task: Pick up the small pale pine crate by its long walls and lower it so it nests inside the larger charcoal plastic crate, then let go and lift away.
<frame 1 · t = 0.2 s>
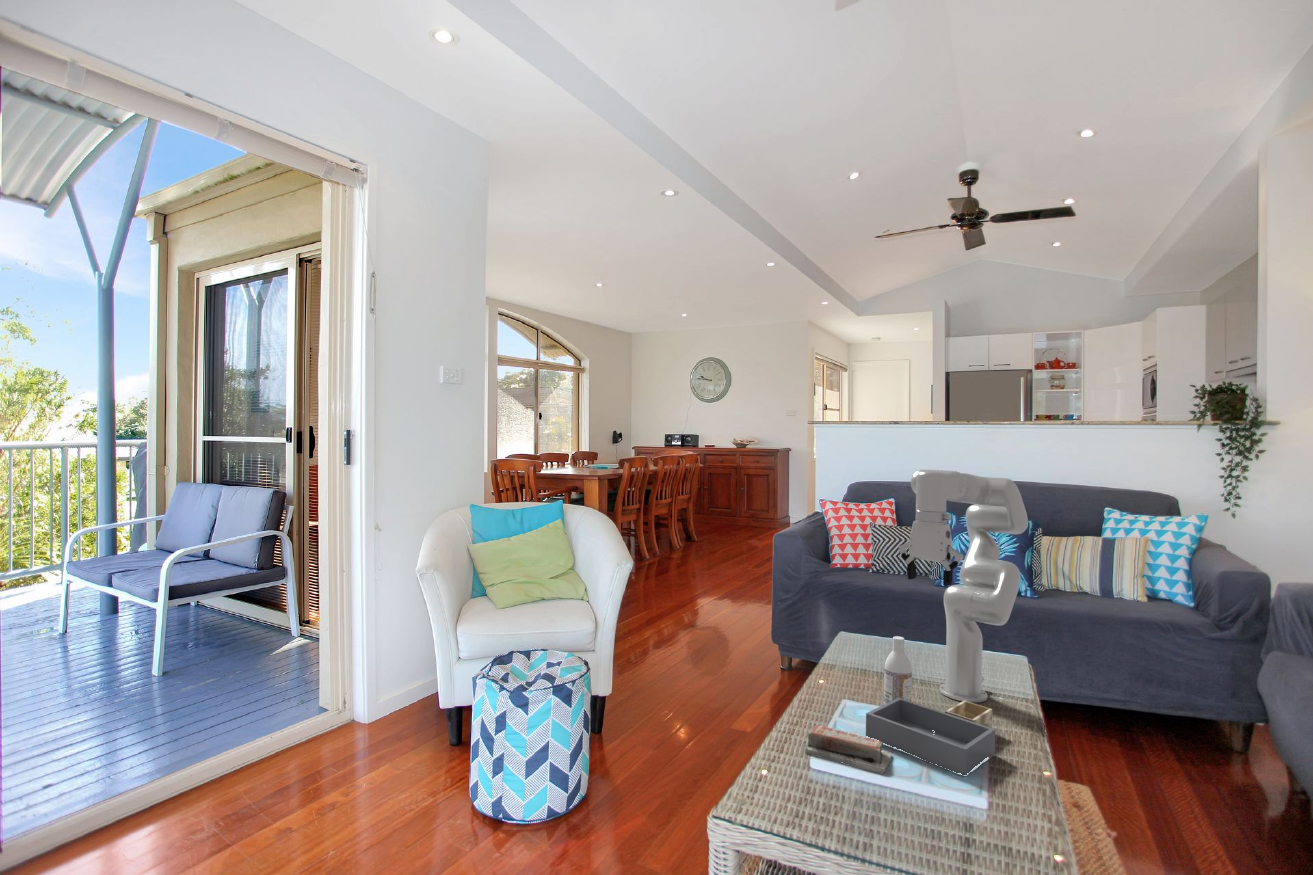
hand: (929, 581, 172), 36 cm above the table, tool pointing down, fingers open, 9 cm apart
charcoal crate: (928, 746, 155), on the table
packaged product: (848, 757, 150), on the table
bath foam: (897, 712, 175), on the table
pine crate: (968, 733, 162), on the table
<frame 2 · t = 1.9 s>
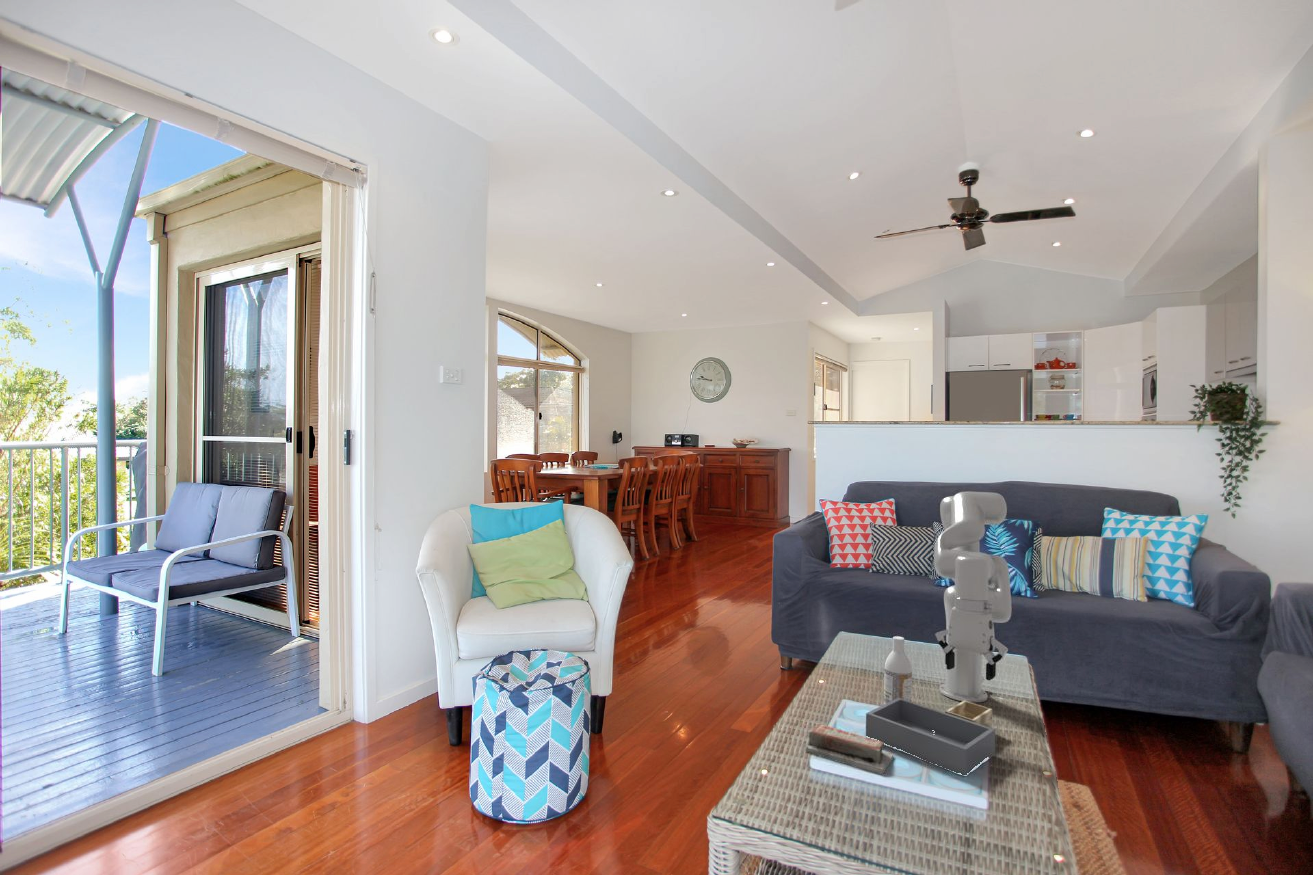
hand: (969, 673, 162), 15 cm above the table, tool pointing down, fingers open, 9 cm apart
nothing on the table moved.
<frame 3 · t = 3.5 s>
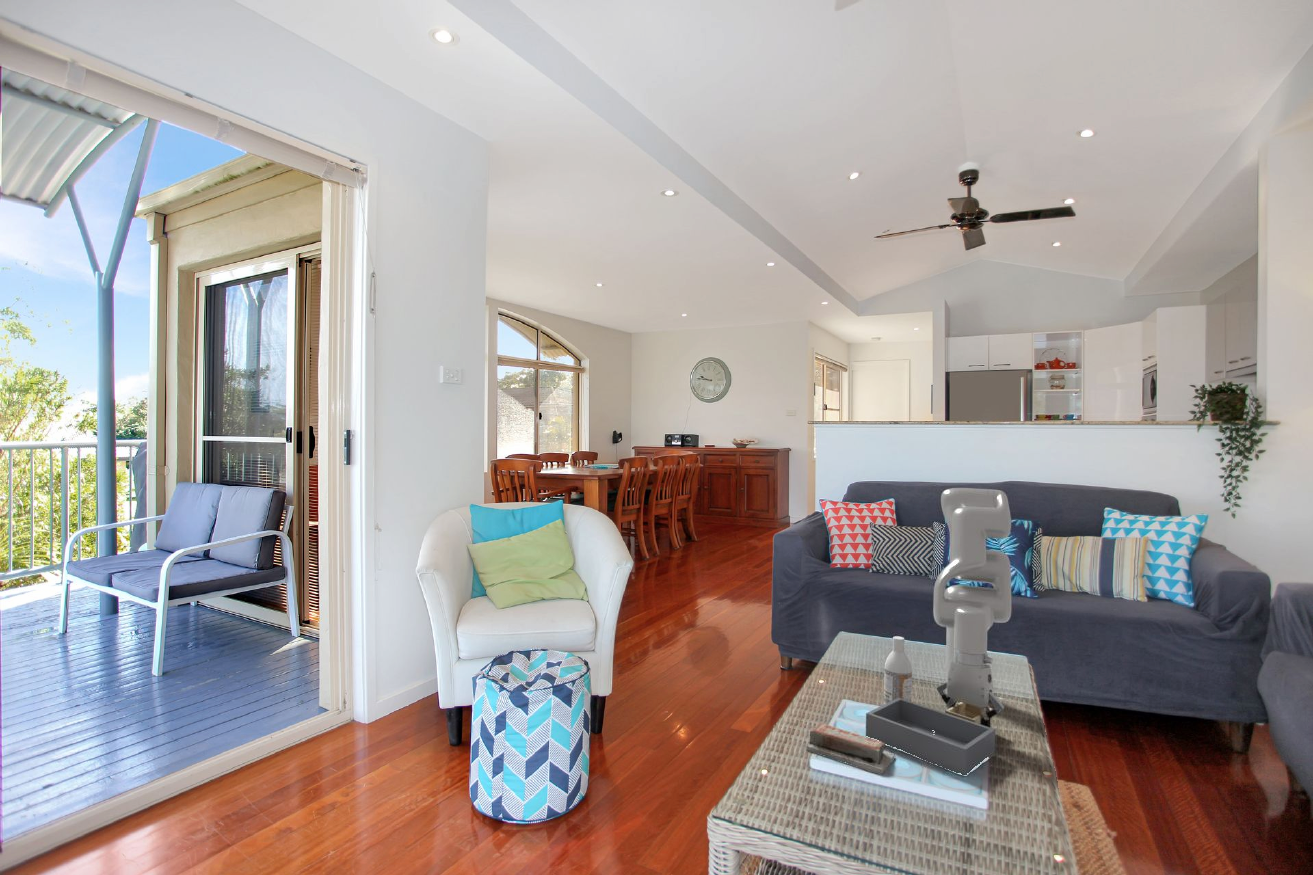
hand: (968, 727, 162), 1 cm above the table, tool pointing down, fingers closed on pine crate, 7 cm apart
pine crate: (968, 733, 162), on the table, touching gripper
everything else where it was.
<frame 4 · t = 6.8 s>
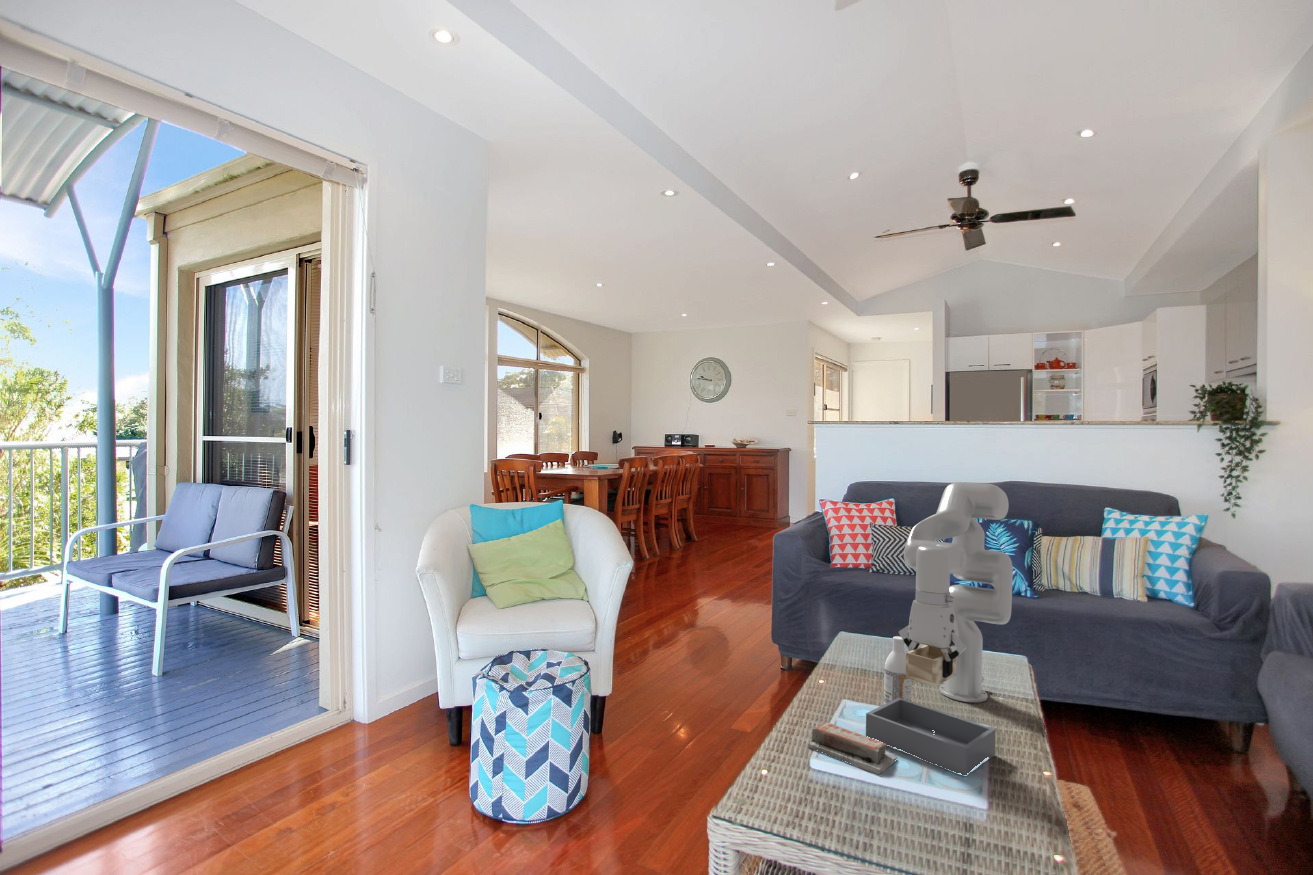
hand: (930, 671, 155), 18 cm above the table, tool pointing down, fingers closed on pine crate, 7 cm apart
pine crate: (930, 677, 155), point 17 cm above the table, touching gripper
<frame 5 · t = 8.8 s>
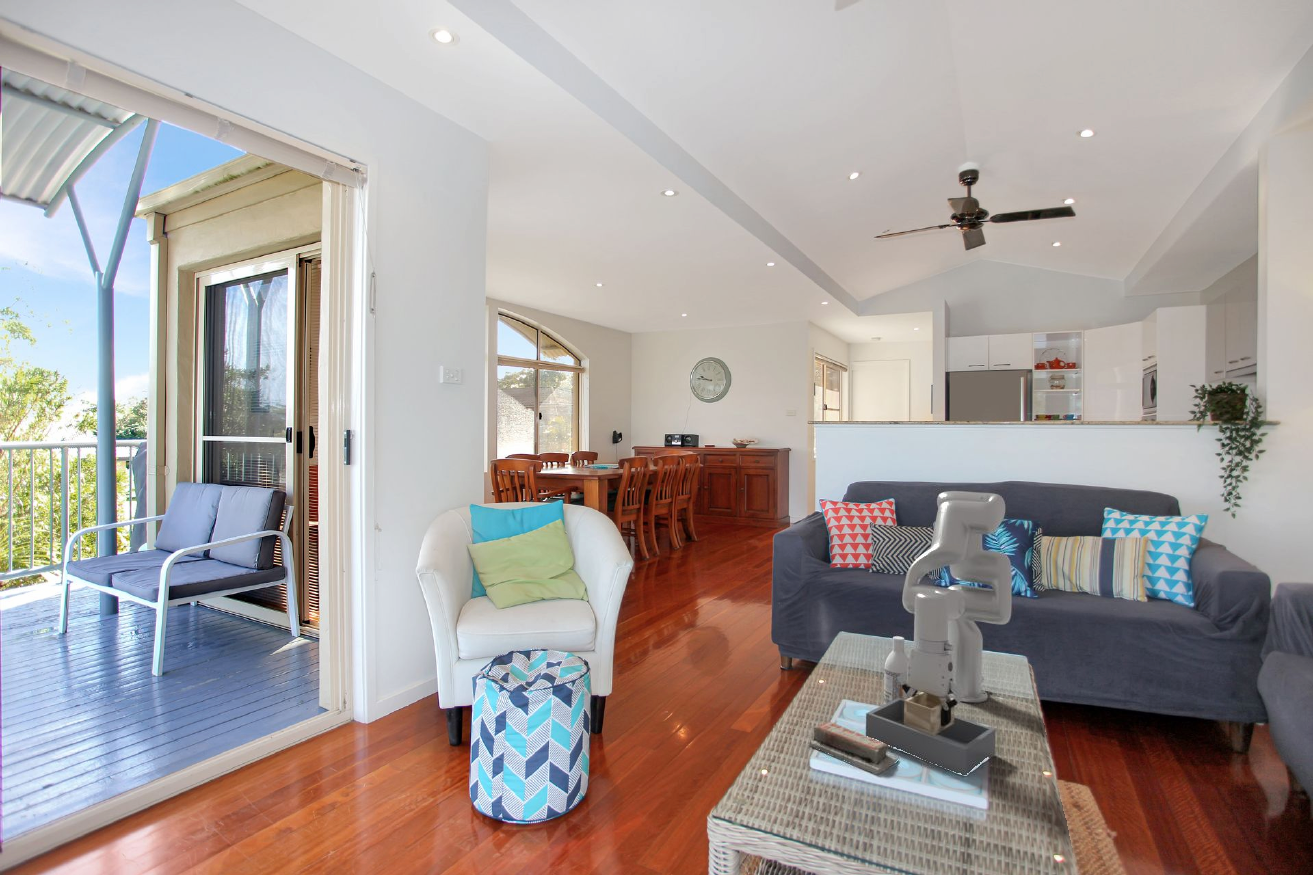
hand: (929, 718, 155), 7 cm above the table, tool pointing down, fingers closed on pine crate, 7 cm apart
pine crate: (929, 724, 155), point 5 cm above the table, touching gripper
when the fingers open (5 cm above the table, at t = 10.2 s): pine crate drops 2 cm, resting on charcoal crate.
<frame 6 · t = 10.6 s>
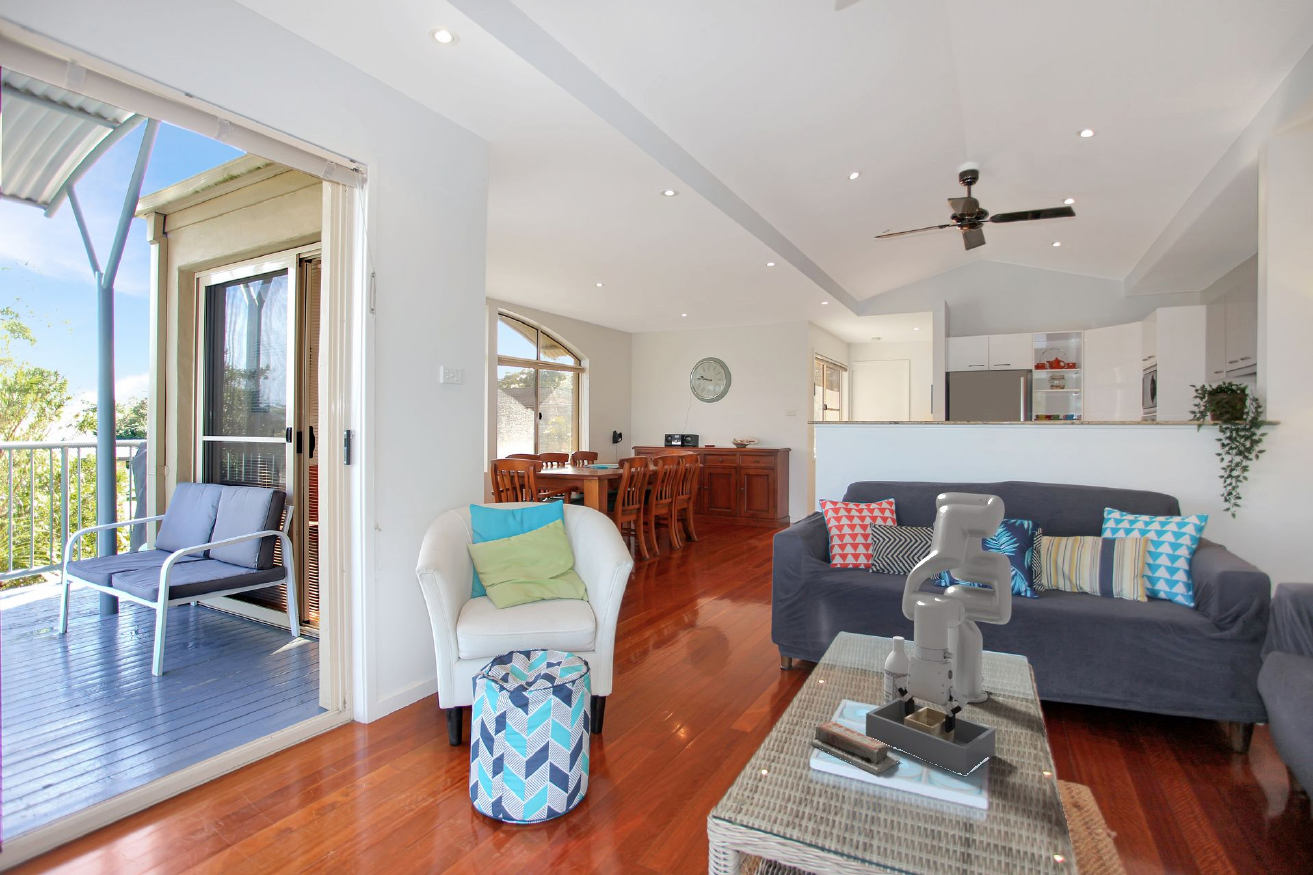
hand: (929, 723, 155), 5 cm above the table, tool pointing down, fingers open, 9 cm apart
pine crate: (928, 741, 155), point 1 cm above the table, touching charcoal crate
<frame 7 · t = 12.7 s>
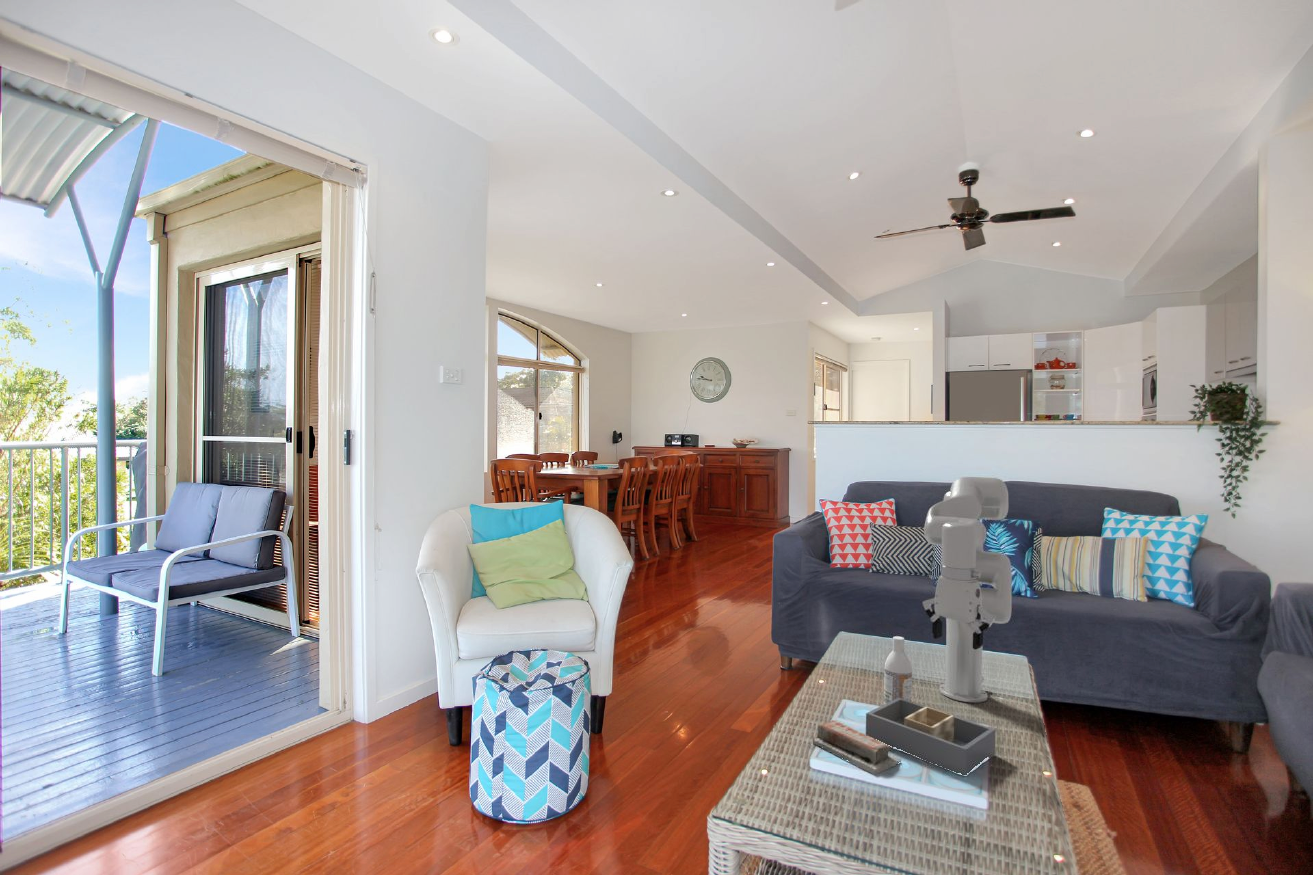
hand: (956, 642, 158), 24 cm above the table, tool pointing down, fingers open, 9 cm apart
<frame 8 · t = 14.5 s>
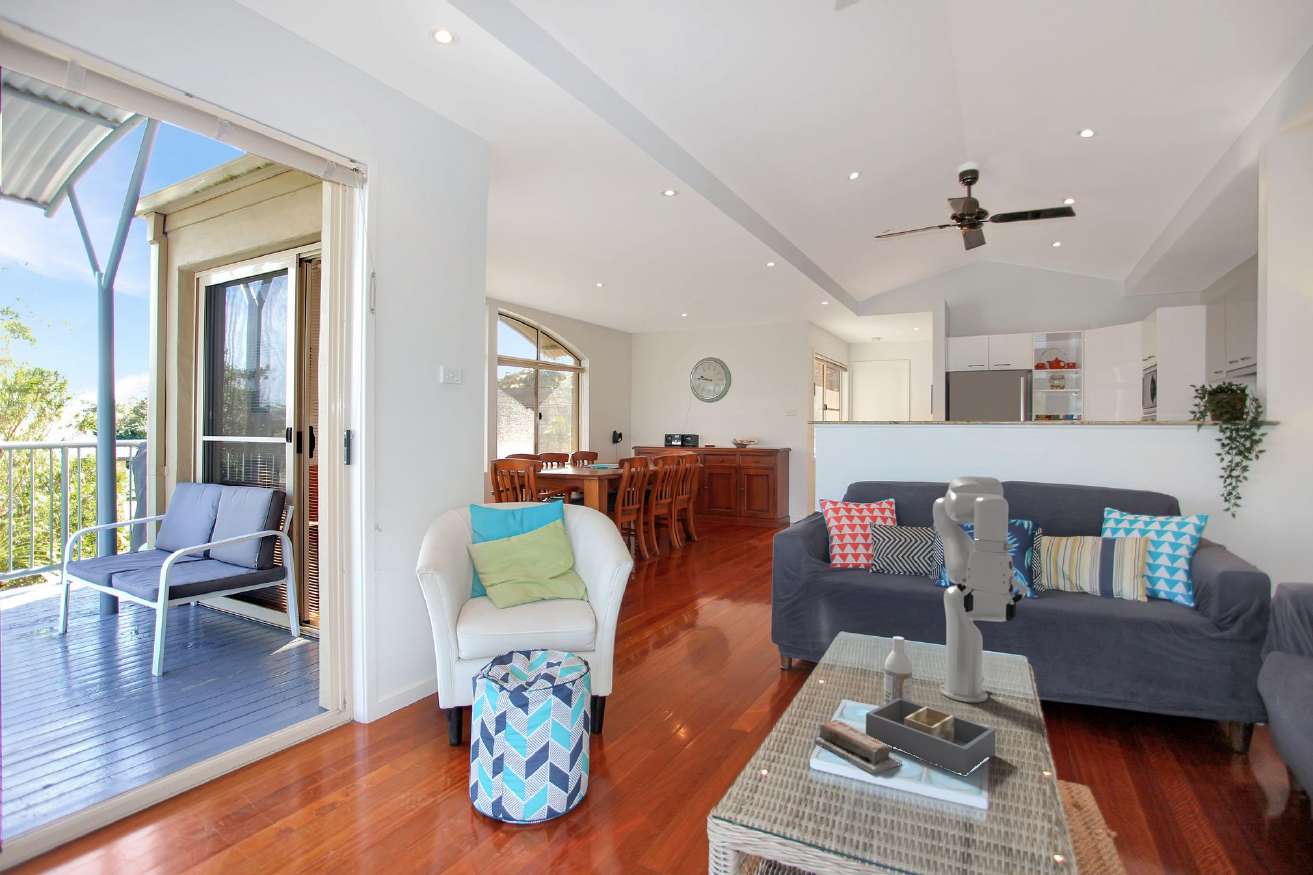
hand: (989, 615, 160), 30 cm above the table, tool pointing down, fingers open, 9 cm apart
at the end: pine crate inside the target area on the charcoal crate (0.1 cm from its centre), point 1.0 cm above the charcoal crate's base; pine crate tilted 0°; the gripper is holding nothing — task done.
